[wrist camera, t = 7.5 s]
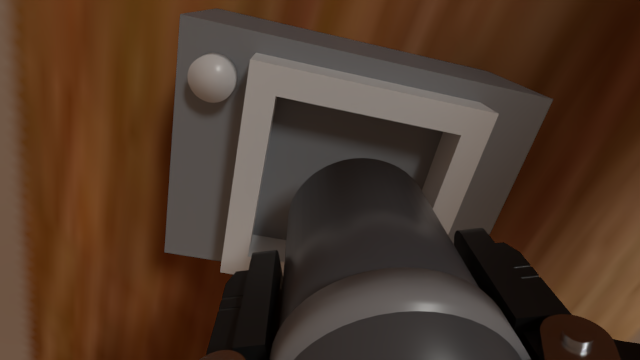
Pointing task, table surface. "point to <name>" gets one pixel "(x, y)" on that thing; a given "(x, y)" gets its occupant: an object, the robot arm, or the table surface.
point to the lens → (380, 276)
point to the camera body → (327, 130)
